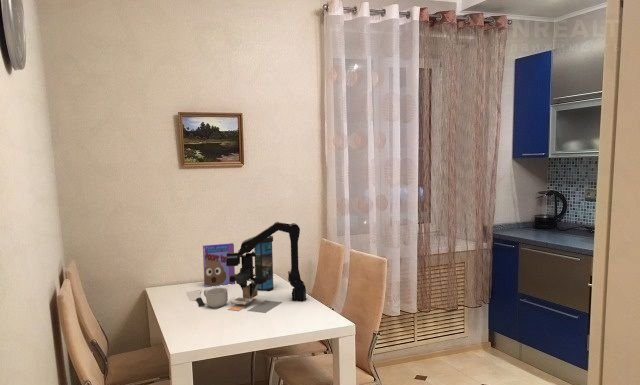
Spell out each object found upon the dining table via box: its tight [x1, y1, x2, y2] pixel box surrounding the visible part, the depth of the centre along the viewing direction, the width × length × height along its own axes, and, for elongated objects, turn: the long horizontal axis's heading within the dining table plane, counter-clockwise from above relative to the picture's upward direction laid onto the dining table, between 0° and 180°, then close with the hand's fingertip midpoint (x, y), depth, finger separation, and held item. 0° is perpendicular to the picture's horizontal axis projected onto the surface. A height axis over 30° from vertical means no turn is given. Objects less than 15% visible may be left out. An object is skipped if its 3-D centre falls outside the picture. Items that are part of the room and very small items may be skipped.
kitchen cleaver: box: [185, 289, 206, 308], centre depth 236 cm, size 31×2×10 cm
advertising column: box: [253, 235, 274, 292], centre depth 251 cm, size 11×11×30 cm
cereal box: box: [202, 243, 236, 288], centre depth 264 cm, size 17×5×24 cm, turn 111°
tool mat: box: [246, 299, 283, 314], centre depth 219 cm, size 10×18×1 cm, turn 157°
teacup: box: [203, 287, 229, 309], centre depth 224 cm, size 14×11×8 cm
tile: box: [227, 305, 246, 312], centre depth 216 cm, size 6×2×6 cm
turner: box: [230, 284, 259, 305], centre depth 224 cm, size 16×8×6 cm, turn 158°
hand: (248, 295), depth 226 cm, fingers closed on turner, 3 cm apart
